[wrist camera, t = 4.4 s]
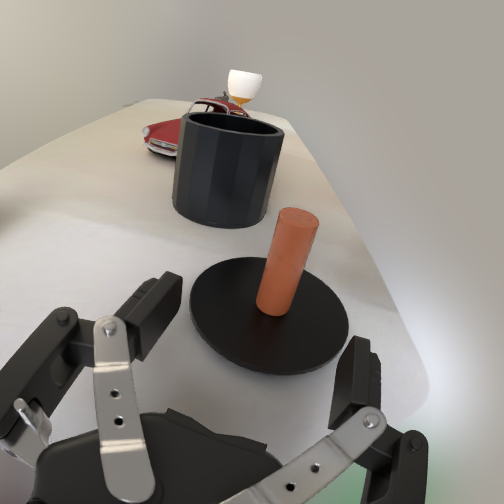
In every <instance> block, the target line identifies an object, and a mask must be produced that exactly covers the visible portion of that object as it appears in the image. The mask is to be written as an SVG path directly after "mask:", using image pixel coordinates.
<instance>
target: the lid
mask: <svg viewBox="0 0 504 504" xmlns="http://www.w3.org/2000/svg"><path fill="white" fill-rule="evenodd" d="M318 226H319V220H318V219H317V217H316V216H314V215H313V214H311V213H310V212H307V211H305V210H302V209H298V208H291V207H289V208H283V209H282V210H281V211H280V213H279V216H278V220H277V224H276V228H275V231H274V235H273V239H272V243H271V246H270V250H269V254H268V257H267V258H259V257H241V258H234V259H229V260H225V261H222V262H219V263H217V264H215V265H213V266H211V267H209V268H208V269H206V270H205V271H204V272H203V273H202V274H200V276H199V277H198V278H197V279H196V281H195V282H194V284H193V286H192V289H191V293H190V301H189V308H190V315H191V318H192V321H193V323H194V325H195V327H196V329H197V331H198V332H199V334H200V335H201V337H202V338H203V339H204V340H205V341H206V343H207V344H208V345H209V346H210V347H211V348H213V349H214V350H215V351H216V352H217V353H219V354H220V355H222V356H223V357H225V358H226V359H228V360H229V361H231V362H233V363H235V364H237V365H239V366H242V367H244V368H247V369H250V370H253V371H257V372H261V373H265V374H273V375H296V374H303V373H307V372H311V371H314V370H316V369H318V368H321V367H323V366H324V365H326V364H328V363H329V362H330V361H332V360H333V359H334V358H335V357H336V356H337V355H338V353H339V352H340V351H341V349H342V348H343V346H344V344H345V342H346V339H347V336H348V329H349V324H348V317H347V314H346V311H345V308H344V306H343V304H342V303H341V301H340V299H339V298H338V297H337V295H336V294H335V293H334V292H333V291H332V290H331V289H330V288H329V287H328V286H327V285H326V284H325V283H324V282H322V281H321V280H320V279H318V278H317V277H315V276H314V275H312V274H310V273H309V272H307V271H305V270H303V269H304V267H305V264H306V261H307V258H308V255H309V252H310V249H311V247H312V244H313V241H314V238H315V235H316V232H317V229H318Z"/></svg>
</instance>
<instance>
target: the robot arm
mask: <svg viewBox="0 0 504 504" xmlns="http://www.w3.org/2000/svg"><path fill="white" fill-rule="evenodd" d="M182 284H183V278H182V276H179V275H176V274H174V273H171V272H169V271H166V272H165V273H164V274H163V275H162V276H161V278H160V279H159V280H158V279H156V278H152V279H150V280H147V281H145V282H144V283H143V284H142V285H141V286H140V287H139V288H138V289H137V290H136V291H135V292H134V293H133V294H132V296H131V297H130V298H129V299H128V300H127V301H126V302H125V303H124V304H123V305H122V306H121V308H120V309H119V310H118V311H117V312H116V313H115V314H114V315H113V316H105V317H102V318H100V319H99V320H97V321H90V320H84V319H79V318H78V314H77V312H76V311H75V310H74V309H72V308H70V307H60V308H57V309H55V310H54V311H52V312H51V313H50V315H49V316H48V317H47V318H46V319H45V320H44V321H43V322H42V323H41V324H40V325H39V326H38V328H37V329H36V330H35V331H34V332H33V333H32V334H31V335H30V336H29V338H28V339H27V340H26V341H25V342H24V343H23V344H22V346H21V347H20V348H19V349H18V350H17V351H16V353H15V354H14V355H13V356H12V357H11V358H10V360H9V361H8V362H7V363H6V364H5V366H4V367H3V368H2V369H1V371H0V447H1V448H2V449H4V450H5V451H6V452H7V453H8V454H10V455H11V456H14V457H19V458H20V459H21V460H22V461H24V462H25V463H26V464H28V465H29V466H31V467H32V468H33V469H35V481H34V488H33V492H32V495H31V497H30V499H29V501H28V502H27V503H26V504H304V503H305V502H307V501H308V500H309V499H311V498H312V497H313V496H315V495H316V494H317V493H318V492H320V491H321V490H322V489H323V488H325V487H326V486H327V485H328V484H330V483H331V482H332V481H333V480H334V479H336V478H337V477H338V476H339V475H340V474H341V473H343V472H344V471H345V470H346V469H347V468H348V467H349V466H350V465H351V464H352V463H353V462H355V463H357V464H359V465H360V466H362V467H364V468H366V469H367V473H366V478H365V483H364V489H363V493H362V498H361V503H360V504H425V495H426V484H427V469H428V442H427V439H426V437H425V436H424V435H423V434H422V433H420V432H419V431H416V430H410V431H407V432H406V433H404V434H403V433H401V432H399V431H397V430H396V429H394V428H392V427H390V426H389V425H388V424H387V421H386V418H385V416H384V414H383V413H382V412H381V382H380V381H381V375H380V374H381V363H380V360H379V358H378V356H377V354H376V353H372V352H370V340H369V339H365V338H362V337H359V336H355V335H354V336H353V337H352V339H351V340H350V342H349V344H348V345H347V347H346V349H345V350H344V352H343V354H342V355H341V357H340V359H339V361H338V364H337V368H336V376H335V383H334V391H333V398H332V405H331V411H330V418H329V424H328V429H331V430H335V431H334V432H332V433H331V434H330V435H327V436H325V437H324V438H323V439H321V440H320V441H319V442H317V443H316V444H315V445H313V446H312V447H311V448H309V449H308V450H306V451H305V452H304V453H302V454H301V455H299V456H298V457H297V458H295V459H294V460H292V461H291V462H289V463H288V464H286V465H285V466H283V465H282V464H281V463H280V462H279V461H278V460H277V459H276V458H275V457H274V456H273V455H271V454H270V453H268V452H267V451H266V448H267V444H264V443H260V442H257V441H254V440H251V439H248V438H245V437H240V436H231V435H223V434H216V433H213V432H212V431H210V430H209V429H207V428H206V427H204V426H203V425H201V424H200V423H198V422H197V421H195V420H194V419H193V418H191V417H188V416H186V415H184V414H181V413H179V412H177V411H174V410H172V409H170V408H168V409H167V411H166V413H165V414H164V413H157V412H149V413H142V414H139V409H138V404H137V399H136V393H135V388H134V382H133V376H132V369H131V363H132V362H133V361H134V359H138V360H140V361H142V362H143V361H144V359H145V358H146V356H147V355H148V353H149V352H150V351H151V349H152V348H153V346H154V345H155V343H156V342H157V341H158V339H159V338H160V336H161V335H162V334H163V332H164V331H165V329H166V328H167V326H168V325H169V324H170V322H171V321H172V319H173V318H174V317H175V315H176V314H177V312H178V310H179V308H180V304H181V296H182ZM85 366H87V367H92V368H93V383H94V395H95V406H96V415H97V424H98V429H96V430H93V431H90V432H87V433H84V434H81V435H78V436H75V437H71V438H68V439H65V440H61V441H58V442H55V443H52V444H50V445H49V443H48V441H49V436H50V434H51V431H52V425H51V422H50V420H49V417H50V416H51V414H52V413H53V411H54V410H55V408H56V407H57V405H58V404H59V402H60V401H61V400H62V398H63V397H64V395H65V394H66V392H67V391H68V389H69V388H70V386H71V385H72V384H73V382H74V381H75V379H76V378H77V376H78V375H79V374H80V372H81V371H82V369H83V368H84V367H85Z"/></svg>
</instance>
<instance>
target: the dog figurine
mask: <svg viewBox="0 0 504 504" xmlns="http://www.w3.org/2000/svg"><path fill="white" fill-rule="evenodd" d="M215 99H216V100H222V101H226V102H228V99H229V98H228V96H227V95H226V92H224V96H223V97H216V98H215ZM213 110H214V109H213ZM224 110H225V111H227V110H228V109H227V108H224Z"/></svg>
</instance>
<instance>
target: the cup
mask: <svg viewBox="0 0 504 504" xmlns="http://www.w3.org/2000/svg"><path fill="white" fill-rule="evenodd" d="M261 83H262V75H259V74H253V73H248V72H243V71H237V70H231V71H230V74H229V77H228V90H229V94H230V96H231V97H232V98H233V100H235V101H236V102H237V103H238V107H240V108H241V105H242V104H243V103H246V102H249V101H250V100H252V99H253V98H254V97H255V96H256V94H257V92H258V91H259V89H260V86H261ZM237 113H239V114H240V112H237Z"/></svg>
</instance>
